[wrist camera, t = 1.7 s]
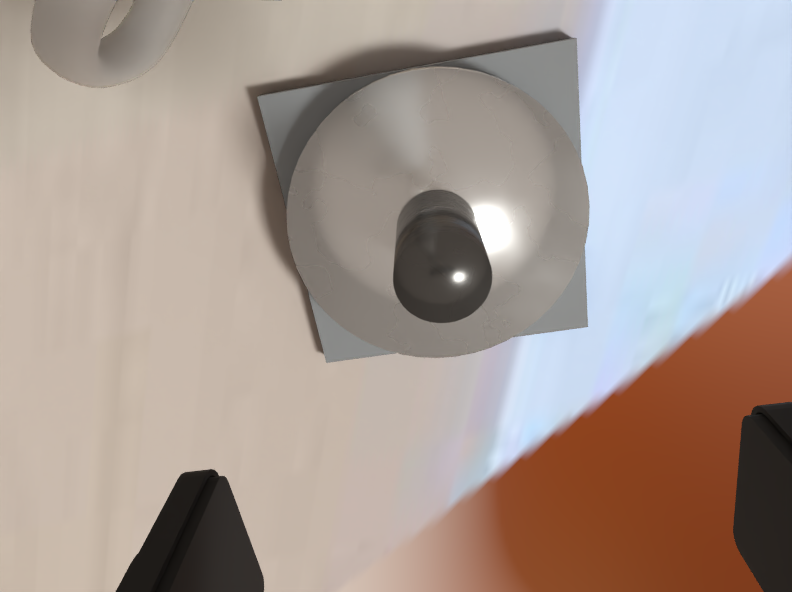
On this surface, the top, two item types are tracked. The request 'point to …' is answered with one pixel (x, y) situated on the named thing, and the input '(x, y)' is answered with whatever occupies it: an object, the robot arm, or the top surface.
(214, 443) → the top surface
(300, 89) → the mat
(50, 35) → the mug
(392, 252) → the lid
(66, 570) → the top surface
